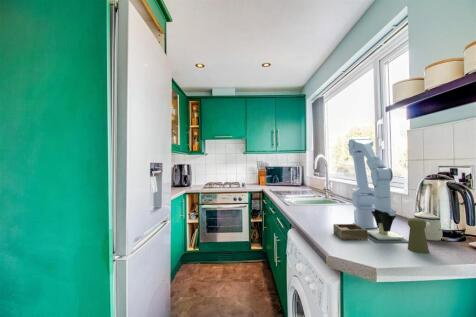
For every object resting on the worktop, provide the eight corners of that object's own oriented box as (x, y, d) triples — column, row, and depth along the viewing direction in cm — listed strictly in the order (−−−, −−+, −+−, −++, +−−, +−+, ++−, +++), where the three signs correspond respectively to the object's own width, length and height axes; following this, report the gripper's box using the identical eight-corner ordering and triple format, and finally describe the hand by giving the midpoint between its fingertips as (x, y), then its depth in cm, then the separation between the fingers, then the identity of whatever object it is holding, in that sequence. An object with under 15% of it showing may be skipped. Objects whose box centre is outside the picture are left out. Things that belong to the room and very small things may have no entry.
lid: (365, 233, 102) (364, 221, 102) (389, 233, 101) (388, 220, 102) (377, 240, 92) (376, 227, 92) (404, 240, 91) (403, 226, 92)
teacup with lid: (415, 233, 102) (413, 206, 103) (442, 236, 97) (441, 208, 97) (414, 240, 93) (413, 210, 93) (445, 244, 87) (443, 213, 88)
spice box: (333, 233, 105) (333, 224, 105) (356, 233, 104) (356, 223, 104) (342, 240, 95) (341, 230, 95) (367, 240, 94) (367, 230, 94)
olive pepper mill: (433, 253, 79) (431, 220, 79) (413, 252, 80) (411, 220, 81) (422, 247, 85) (421, 216, 85) (404, 246, 86) (402, 216, 86)
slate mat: (360, 233, 104) (360, 232, 104) (391, 233, 103) (390, 232, 103) (376, 242, 91) (376, 242, 91) (411, 242, 90) (411, 242, 90)
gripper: (364, 194, 105) (365, 225, 104) (382, 199, 90) (383, 234, 90) (380, 194, 104) (381, 225, 104) (401, 199, 90) (402, 234, 89)
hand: (383, 229), depth 97 cm, fingers open, 4 cm apart
